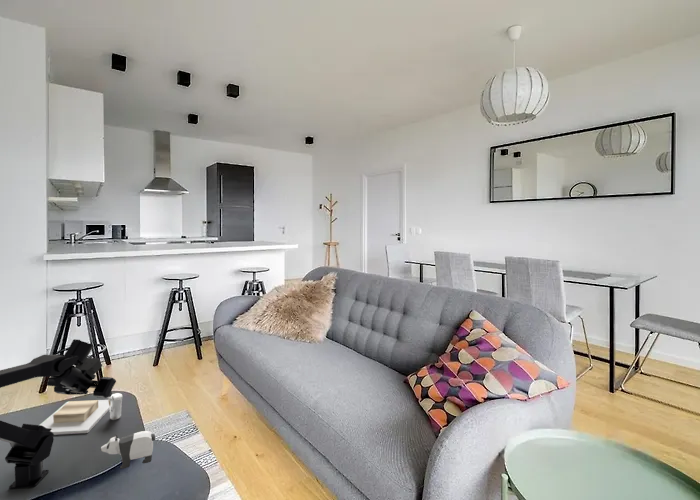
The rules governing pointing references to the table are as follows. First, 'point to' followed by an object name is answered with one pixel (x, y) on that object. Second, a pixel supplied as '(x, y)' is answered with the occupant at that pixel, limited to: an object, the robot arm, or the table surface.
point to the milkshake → (115, 406)
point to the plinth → (75, 411)
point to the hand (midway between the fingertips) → (99, 394)
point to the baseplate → (77, 426)
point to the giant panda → (131, 447)
